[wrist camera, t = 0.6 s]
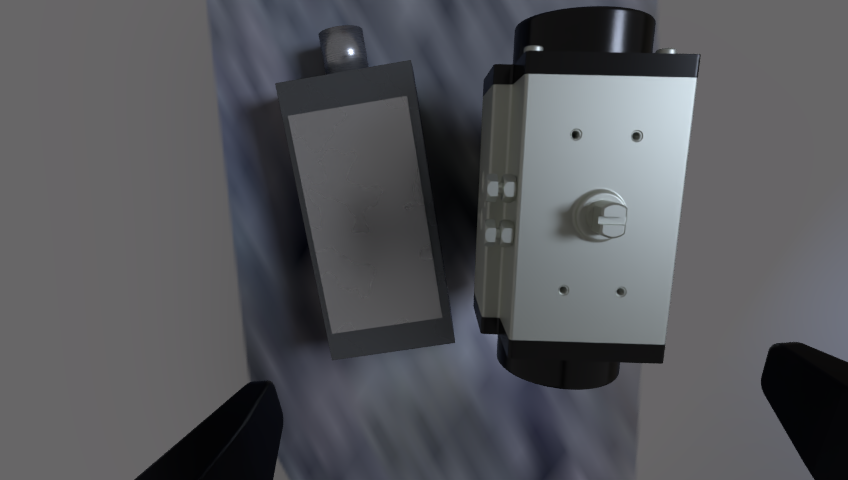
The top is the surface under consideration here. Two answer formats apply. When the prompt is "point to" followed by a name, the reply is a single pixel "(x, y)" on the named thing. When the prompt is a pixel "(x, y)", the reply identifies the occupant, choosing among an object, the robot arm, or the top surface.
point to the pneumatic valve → (581, 195)
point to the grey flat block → (367, 201)
